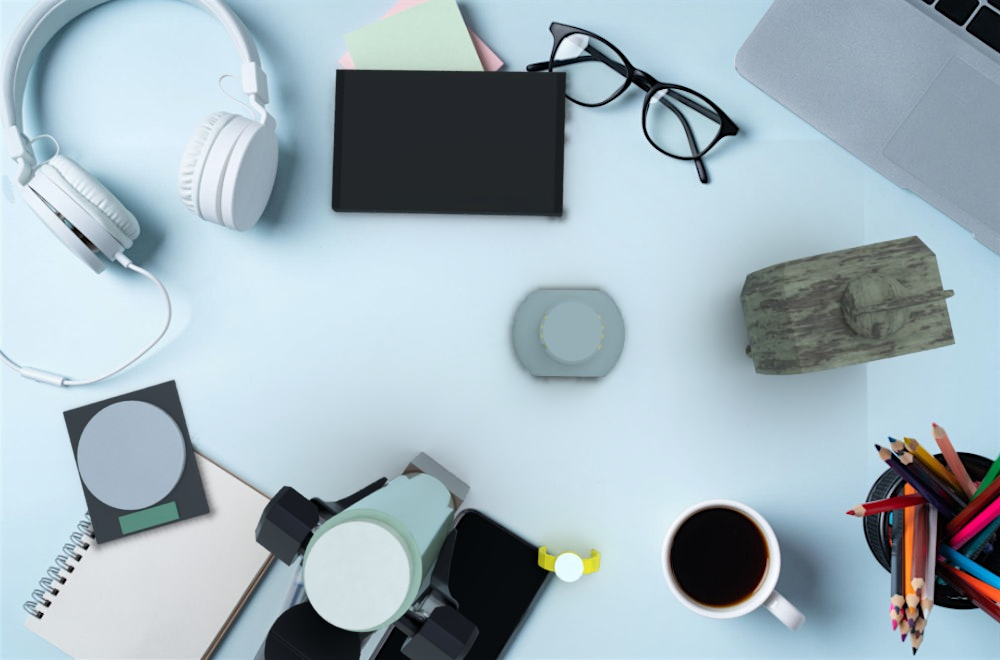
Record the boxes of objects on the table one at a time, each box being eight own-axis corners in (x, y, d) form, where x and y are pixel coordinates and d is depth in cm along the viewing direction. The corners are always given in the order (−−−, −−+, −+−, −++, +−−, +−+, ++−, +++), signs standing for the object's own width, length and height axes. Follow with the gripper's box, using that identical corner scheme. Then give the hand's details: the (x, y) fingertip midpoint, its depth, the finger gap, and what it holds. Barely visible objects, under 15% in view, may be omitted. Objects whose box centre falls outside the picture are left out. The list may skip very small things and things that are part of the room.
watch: (598, 539, 79) (603, 555, 73) (596, 567, 79) (602, 584, 73) (539, 535, 79) (539, 550, 73) (537, 563, 79) (537, 580, 73)
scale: (215, 509, 81) (206, 514, 78) (105, 541, 81) (93, 546, 79) (180, 379, 81) (170, 379, 79) (71, 410, 82) (58, 412, 79)
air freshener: (621, 294, 80) (634, 285, 70) (620, 375, 79) (633, 378, 69) (514, 293, 80) (512, 284, 70) (513, 374, 80) (510, 376, 70)
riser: (436, 532, 80) (424, 554, 71) (389, 497, 80) (371, 515, 71) (471, 484, 80) (463, 501, 71) (424, 449, 80) (410, 461, 71)
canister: (454, 552, 69) (418, 640, 43) (375, 552, 69) (293, 639, 44) (454, 472, 70) (419, 512, 44) (376, 472, 70) (296, 512, 44)
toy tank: (733, 372, 79) (826, 379, 54) (715, 284, 79) (799, 251, 54) (876, 344, 78) (1036, 338, 54) (857, 256, 79) (1007, 210, 54)
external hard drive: (343, 78, 82) (336, 68, 79) (565, 81, 81) (566, 71, 78) (338, 214, 81) (331, 208, 78) (562, 218, 80) (563, 213, 77)
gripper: (452, 710, 49) (549, 531, 61) (219, 533, 50) (357, 389, 62) (399, 750, 57) (493, 584, 68) (198, 596, 58) (324, 457, 69)
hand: (419, 505), depth 67 cm, fingers closed on canister, 7 cm apart
